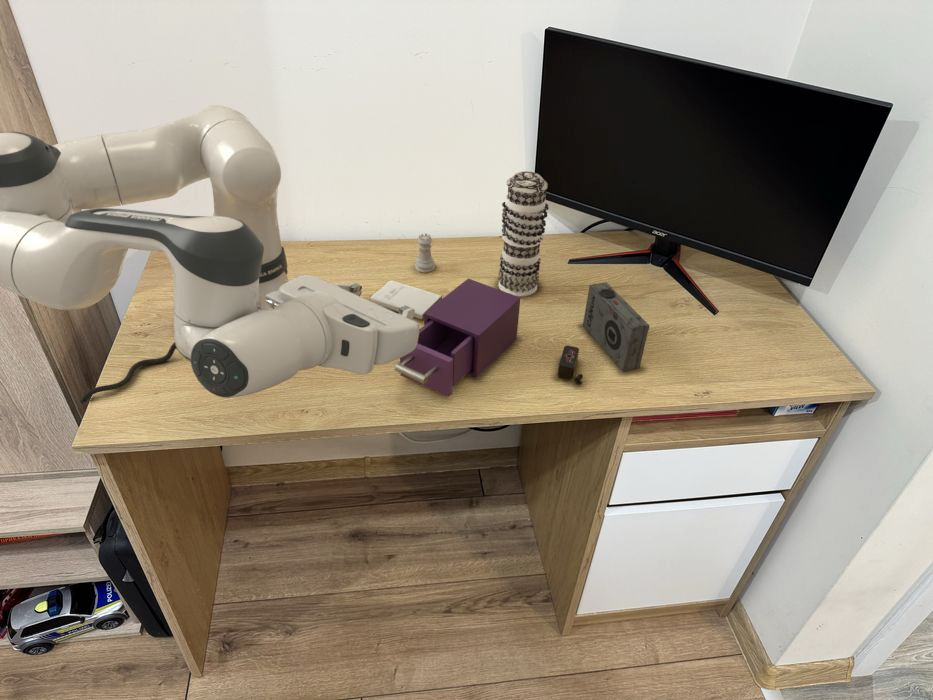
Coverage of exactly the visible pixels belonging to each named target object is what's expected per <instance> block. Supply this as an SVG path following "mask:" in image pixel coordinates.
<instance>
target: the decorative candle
mask: <svg viewBox="0 0 933 700" xmlns="http://www.w3.org/2000/svg"><path fill="white" fill-rule="evenodd" d="M548 185H549V184H548V182H547V181H546V180H545V179H544V178H543V177H542V176H541V175H540V174H539V173H536V172H533V171H519V172H516V173H515V174H514V175H512V177H509V178H508V179H507V180H506V186H507V195H506V201H503V202H502V203H501V207H503V208H502V210H501V211H502V213H501V216H502V217H501V218H502V219H501V222H502V223H503V224H502V225H501V227H502V228H501V233H502V234H501V237H502V240H503V246H502V252H501V254H500V257H499V260H500V262H499V270H498V288H499V290H501V291H504V292H506V293H509V294H512V295H514V296H517V297H520V298H521V297H527V296H531V295H532V294H535V292H536V291H537V290H538V284H539V282H538V281H539V278H540V276H539V275H540V272H539V271H540V269H541V268H540V267H541V265H540V264H541V260H542V259H541V244H542V242H543V240H544V237H543V236H544V235H543V234H545V231H546V229H545V227H546V225H547V222H546V220H545V219H547V217H548V210H549V204H548V203H547V200H546V199H547V198H546V196H547V189H548V187H549V186H548Z"/></svg>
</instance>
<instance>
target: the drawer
mask: <svg viewBox="0 0 933 700" xmlns="http://www.w3.org/2000/svg"><path fill="white" fill-rule="evenodd" d="M474 348H475V337H472V336H470V335H468V334H465V333H463V332H460V331H458V330H455V329H453V328H450V327H448V326H446V325H443V324H441V323H438V322H436V321H433V320H430V321H429V322H428V323H426V324H425V325H424V324H423V326H421V327H419V337H418V342H417V346H416V348H415V349H414V350H413V351H412V352H410V353H409V354H407V355H405V356H403V357H401V358H399V362H398V363H396V364H395V366H394V371H395V372H397V373H399V375H400V376H401V377H403V378H406V379H407V380H409V381H412V382H414V383H415V384H419V386H422V387H424V388H426V389H430V390H431V391H433V392H436V393H438V394H440V395H442V396H444V397H446V398H450V397H451V396H452V395H453V389H454V387H455V386H456V385H457V384H458V383H459V382H461V380H463V378H465V377H466V376H467V375H468V373H469V372H470V371H471V370H472V369H473V367H474Z"/></svg>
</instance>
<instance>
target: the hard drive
mask: <svg viewBox="0 0 933 700" xmlns="http://www.w3.org/2000/svg"><path fill="white" fill-rule="evenodd" d="M441 299H443V295H441V294H437V293H434V292H431V291H428V290H425V289H421V288H418V287H415V286H412V285H408V284H405V283H402V282H399V281H395V280H393V279H390V280H388V281H387V282H386V283H385V284H384V285H383V286H382V287H380V288H379V289H378V290H377V291H376V292H374V293H373V294H372V295H371V296H370V297H369V301H371V302H373V303H375V304H377V305H379V306H382V307H384V308H386V309H388V310H390V311H393V312H396V313H397V312H398V313H399V308H400V307H404V306H405V305H406V306H408V307H411V308H413V309H414V310H415V312H414V318H415V319H418V320H421V321H424V313H425V312H426V311H427V310H429V309H430V308H431V307H432V306H434V305H435V304H436V303H438V302H439V301H440V300H441Z"/></svg>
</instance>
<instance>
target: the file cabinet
mask: <svg viewBox="0 0 933 700" xmlns="http://www.w3.org/2000/svg"><path fill="white" fill-rule="evenodd" d="M520 308H521V296H514V295H512V294H509V293H506V292H504V291H501V289H498V288H495V287H493V286H490V285H488V284H484V283H482V282H479V281H476V280H474V279H472V278H469V277H468V278H467V279H466V280H464V281H463V282H462V283H460V284H459V285H457V286H456V288H454V289H453V290H451V291H450V292H449V293H448V294H446V295H445V296H443V297H442V299H441V300H440V301H439V302H438V303H436V304H435V305H434V306H432V307H431V308H430V309H429V310H427V311H426V312H425V313H424V319H423V326H424V325H425V324H426V323H428V322H429V321H430V320H433V321H436V322H438V323H441V324H443V325H446V326H448V327H450V328H453V329H455V330H458V331H460V332H463V333H465V334H468V335H470V336H472V337H475V348H474V367H473V369H472V370H471V371H470V372H469V373H468V374H467V375H468V376H470V377H472V378H475V379H478V378H479V377H480V376H481V375H482V374H483V372H485V371H486V370H487V369H488V368H489V366H492V364H493V363H494V362H495V361H496V360H497V359H498V358H499V357H500V356H501V355H503V353H504V352H505V351H506V350H507V349H508V348H509V347H510V346H511V345H512V344H513V343H515V341H516V340H517V339H518V329H519V318H520Z"/></svg>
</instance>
